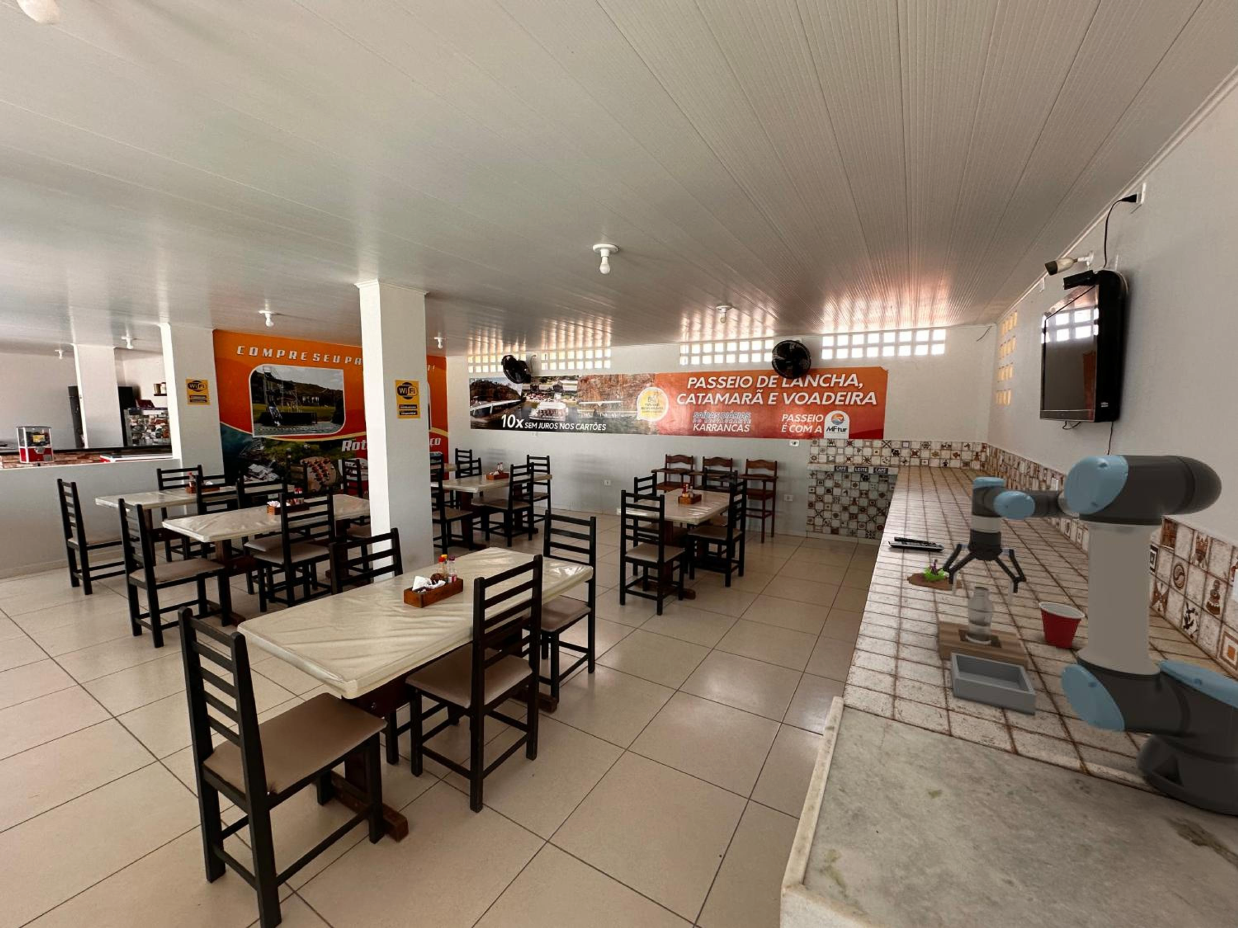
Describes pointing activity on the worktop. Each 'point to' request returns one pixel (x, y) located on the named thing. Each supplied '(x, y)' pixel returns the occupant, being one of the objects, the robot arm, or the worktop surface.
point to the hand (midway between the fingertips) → (981, 598)
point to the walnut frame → (1001, 641)
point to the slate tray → (992, 683)
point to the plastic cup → (1059, 623)
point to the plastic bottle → (979, 617)
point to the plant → (933, 579)
